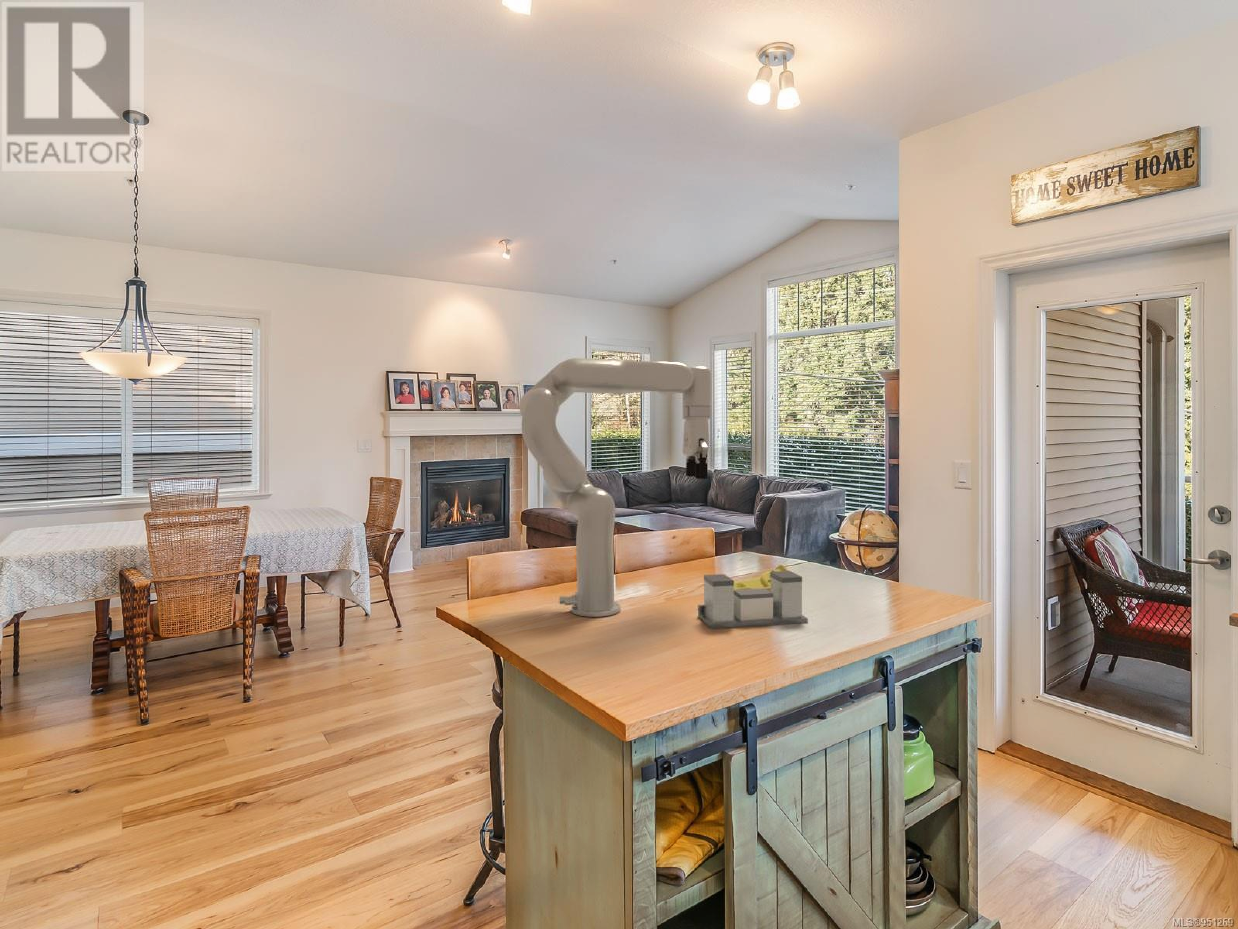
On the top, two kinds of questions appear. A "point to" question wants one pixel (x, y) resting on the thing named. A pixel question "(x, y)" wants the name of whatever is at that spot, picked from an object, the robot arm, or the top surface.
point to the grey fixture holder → (722, 601)
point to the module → (753, 604)
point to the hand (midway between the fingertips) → (696, 477)
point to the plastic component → (758, 581)
